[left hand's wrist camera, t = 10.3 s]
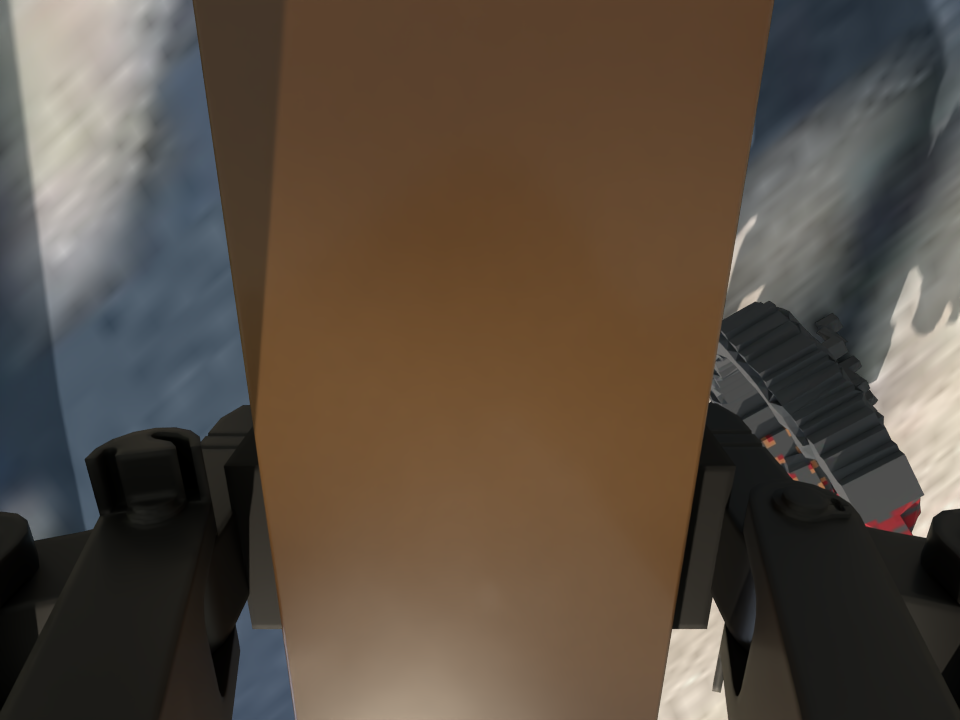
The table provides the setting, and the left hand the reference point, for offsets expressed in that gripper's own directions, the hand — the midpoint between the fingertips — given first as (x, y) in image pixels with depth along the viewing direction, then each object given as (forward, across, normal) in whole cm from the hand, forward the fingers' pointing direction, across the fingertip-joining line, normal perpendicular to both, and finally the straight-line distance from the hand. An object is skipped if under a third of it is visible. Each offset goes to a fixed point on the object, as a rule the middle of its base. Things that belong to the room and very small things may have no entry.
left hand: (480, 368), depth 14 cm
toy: (+24, -19, +14) cm, 34 cm away
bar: (+1, 0, -24) cm, 25 cm away
